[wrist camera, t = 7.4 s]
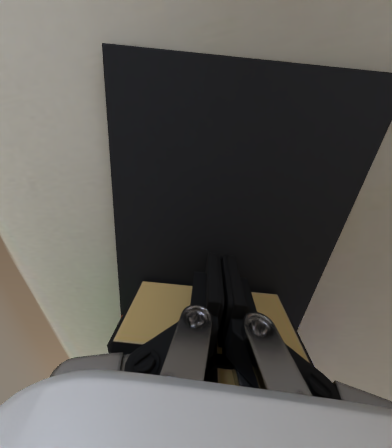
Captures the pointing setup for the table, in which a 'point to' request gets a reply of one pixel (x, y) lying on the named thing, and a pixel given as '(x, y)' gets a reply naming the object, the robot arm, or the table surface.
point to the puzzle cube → (170, 314)
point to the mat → (236, 165)
